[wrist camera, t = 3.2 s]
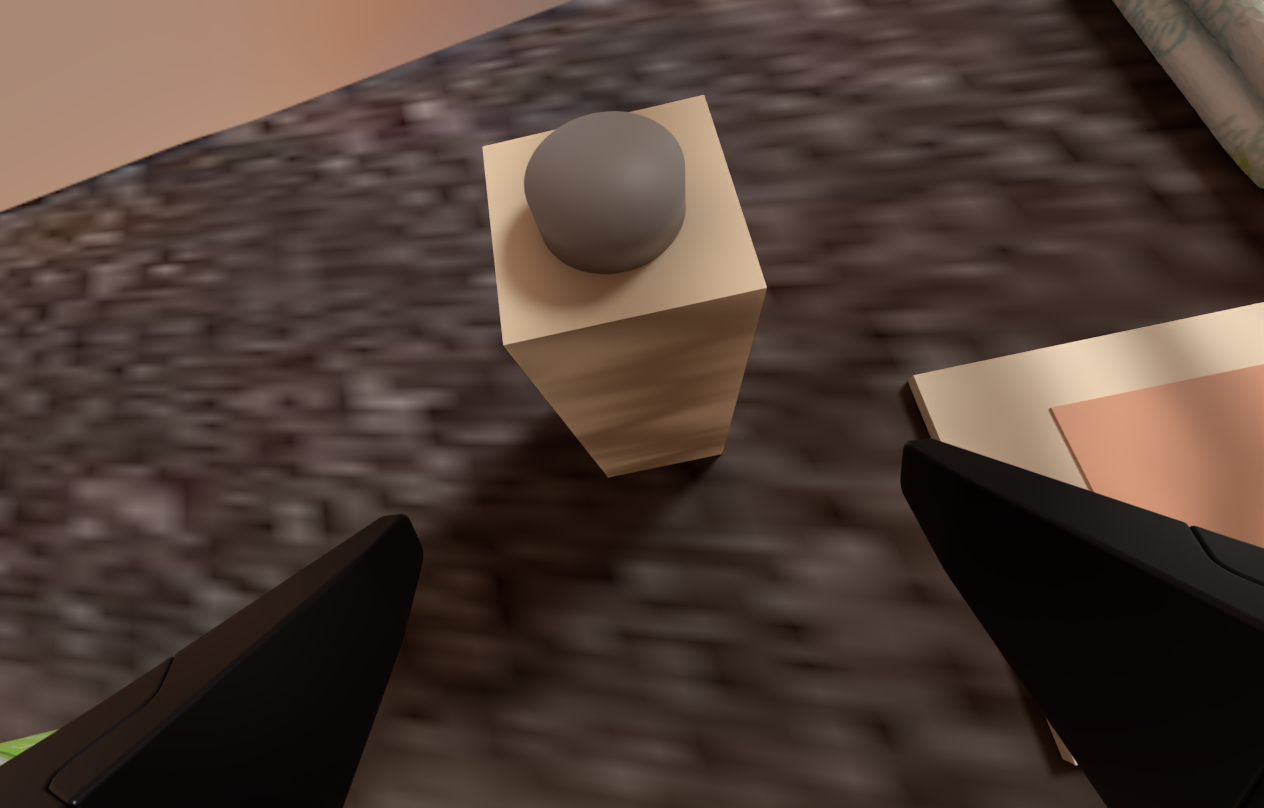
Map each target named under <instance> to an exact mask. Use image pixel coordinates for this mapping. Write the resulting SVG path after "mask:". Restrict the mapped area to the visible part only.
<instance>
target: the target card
mask: <svg viewBox="0 0 1264 808" xmlns="http://www.w3.org/2000/svg"><path fill="white" fill-rule="evenodd" d="M908 383H909V385H910V388H911V390H912V393H913V395H914V398H915V400H916V403H917V405H918V407H919V410H920V412H921V415H922V417H923V420H924V422H925V424H926V427H927V429H928V432H929V434H930V437H931V438H932V439H936V440H939V441H942V442H945V443H948V444H951V445H954V446H957V447H960V448H963V449H966V450H969V451H972V452H975V453H978V454H981V455H984V456H987V457H990V458H993V459H996V460H999V461H1002V462H1005V463H1008V464H1011V465H1014V466H1017V467H1020V468H1023V469H1026V470H1029V471H1032V472H1035V473H1038V474H1041V475H1044V476H1047V477H1050V478H1053V479H1056V480H1059V481H1062V482H1065V483H1068V484H1071V485H1074V486H1077V487H1080V488H1083V489H1086V490H1089V491H1092V492H1095V493H1098V494H1101V495H1104V496H1107V497H1110V498H1113V499H1116V500H1119V501H1122V502H1125V503H1128V504H1131V505H1134V506H1137V507H1140V508H1143V509H1146V510H1149V511H1152V512H1155V513H1158V514H1161V515H1164V516H1167V517H1170V518H1173V519H1177V520H1180V521H1183V522H1185V523H1187V524H1188V526H1189V527H1190V526H1198V527H1201V528H1204V529H1207V530H1210V531H1213V532H1216V533H1219V534H1222V535H1225V536H1228V537H1231V538H1234V539H1237V540H1240V541H1243V542H1246V543H1250V544H1253V545H1256V546H1259V547H1262V548H1264V302H1263V303H1258V304H1253V305H1248V306H1243V307H1239V308H1234V309H1229V310H1224V311H1220V312H1215V313H1210V314H1205V315H1200V316H1196V317H1191V318H1186V319H1181V320H1176V321H1172V322H1167V323H1162V324H1157V325H1153V326H1148V327H1143V328H1138V329H1133V330H1129V331H1124V332H1119V333H1114V334H1109V335H1105V336H1100V337H1095V338H1090V339H1085V340H1081V341H1076V342H1071V343H1066V344H1062V345H1057V346H1052V347H1047V348H1042V349H1038V350H1033V351H1028V352H1023V353H1018V354H1014V355H1009V356H1004V357H999V358H995V359H990V360H985V361H980V362H975V363H971V364H966V365H961V366H956V367H951V368H947V369H942V370H937V371H932V372H928V373H923V374H918V375H913V376H912V377H911V378H910V379H909V380H908ZM1046 720H1047V719H1046ZM1047 722H1048V720H1047ZM1048 725H1049V727H1050V729H1051V732H1052V734H1053V737H1054V739H1055V742H1056V744H1057V746H1058V749H1059V751H1060V754H1061V756H1062V759H1064V760H1066V761H1068V762H1070V763H1072V764H1074V765H1078V764H1077V762H1076V761H1075V759H1074V758H1073V757H1072V755H1071V754H1070V752H1069V751H1068V749H1067V748H1066V746H1065V745H1064V743H1063V742H1062V741H1061V739H1060V738H1059V736H1058V735H1057V733H1056V732H1055V730H1054V729H1053V727H1052V726H1051V725H1050V723H1049V722H1048Z"/></svg>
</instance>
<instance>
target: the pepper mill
mask: <svg viewBox="0 0 1264 808" xmlns="http://www.w3.org/2000/svg"><path fill="white" fill-rule="evenodd" d="M483 157H484V166H485V176H486V185H487V195H488V204H489V214H490V223H491V233H492V242H493V252H494V261H495V271H496V280H497V290H498V299H499V309H500V318H501V328H502V337H503V345H504V347H505V348H506V349H507V351H508V352H509V353H510V354H511V356H512V357H513V358H514V359H515V361H516V362H517V363H518V364H519V366H520V367H521V368H522V369H523V371H524V372H525V373H526V375H527V376H528V377H529V378H530V380H531V381H532V382H533V383H534V385H535V386H536V387H537V388H538V390H539V391H540V392H541V393H542V395H543V396H544V397H545V398H546V400H547V401H548V402H549V404H550V405H551V406H552V407H553V409H554V410H555V411H556V412H557V414H558V415H559V416H560V417H561V419H562V420H563V421H564V422H565V424H566V425H567V426H568V428H569V429H570V430H571V431H572V433H573V434H574V435H575V436H576V438H577V439H578V440H579V441H580V443H581V444H582V445H583V446H584V448H585V449H586V450H587V451H588V453H589V454H590V455H591V457H592V458H593V459H594V460H595V462H596V463H597V464H598V465H599V467H600V468H601V469H602V470H603V472H604V473H605V474H606V475H607V477H613V476H618V475H623V474H628V473H633V472H637V471H642V470H647V469H652V468H657V467H662V466H667V465H671V464H676V463H681V462H686V461H691V460H696V459H701V458H705V457H710V456H715V455H720V454H722V452H723V449H724V445H725V441H726V438H727V434H728V430H729V427H730V423H731V419H732V415H733V412H734V408H735V404H736V401H737V397H738V393H739V389H740V386H741V382H742V378H743V375H744V371H745V367H746V364H747V360H748V356H749V352H750V349H751V345H752V341H753V338H754V334H755V330H756V326H757V323H758V319H759V315H760V312H761V308H762V304H763V300H764V297H765V293H766V289H767V286H766V283H765V280H764V277H763V274H762V271H761V268H760V265H759V262H758V259H757V256H756V253H755V250H754V247H753V243H752V240H751V237H750V234H749V231H748V228H747V225H746V222H745V219H744V216H743V213H742V210H741V207H740V204H739V201H738V197H737V194H736V191H735V188H734V185H733V182H732V179H731V176H730V173H729V170H728V167H727V164H726V161H725V158H724V155H723V151H722V148H721V145H720V142H719V139H718V136H717V133H716V130H715V127H714V124H713V121H712V118H711V115H710V112H709V109H708V106H707V102H706V99H705V96H704V95H701V96H697V97H693V98H688V99H684V100H680V101H676V102H671V103H667V104H663V105H659V106H654V107H650V108H646V109H641V110H637V111H633V112H621V111H609V112H599V113H594V114H589V115H586V116H582V117H579V118H577V119H574V120H572V121H570V122H568V123H566V124H564V125H562V126H561V127H559V128H558V129H556V130H552V131H548V132H543V133H539V134H535V135H530V136H526V137H522V138H518V139H513V140H509V141H505V142H501V143H496V144H492V145H488V146H483Z"/></svg>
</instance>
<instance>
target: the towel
mask: <svg viewBox="0 0 1264 808" xmlns="http://www.w3.org/2000/svg"><path fill="white" fill-rule="evenodd" d="M1112 1H1113V2H1114V4H1115V5H1116V6H1117V7H1118V8H1119V10H1120V12H1121V13H1122V14H1123V16H1124V18H1125V19H1126V20H1127V21H1128V23H1130V25H1131V26H1132V27H1133V28H1134V30H1135V31H1136V33H1137V34H1138V36H1139V37H1140V38H1141V40H1142V42H1143V43H1144V44H1145V45H1146V46H1147V48H1148V49H1149V50H1150V52H1151V53H1152V54H1153V55H1154V57H1155V58H1156V60H1157V62H1158V63H1159V64H1160V65H1161V66H1162V67H1163V69H1164V70H1165V72H1166V73H1167V74H1168V75H1169V76H1170V78H1171V79H1172V80H1173V82H1174V83H1175V84H1176V86H1177V87H1178V88H1179V90H1180V91H1181V92H1182V94H1183V95H1184V96H1185V98H1186V99H1187V100H1188V102H1189V103H1190V105H1191V106H1192V107H1193V108H1194V109H1195V110H1196V112H1197V113H1198V115H1199V116H1200V118H1201V119H1202V121H1203V122H1204V123H1205V124H1206V126H1207V127H1208V128H1209V130H1210V131H1211V133H1212V134H1213V136H1214V137H1215V138H1216V139H1217V140H1218V142H1219V143H1220V145H1221V146H1222V147H1223V148H1224V149H1225V150H1226V152H1227V153H1228V154H1229V155H1230V156H1231V158H1232V159H1233V160H1234V161H1235V162H1236V164H1237V165H1238V166H1239V167H1240V169H1241V170H1243V172H1244V173H1245V174H1246V175H1248V177H1249V178H1250V179H1251V180H1252V181H1253V182H1254V183H1255V184H1256V185H1257V186H1258V187H1260V188H1263V189H1264V0H1112Z"/></svg>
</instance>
